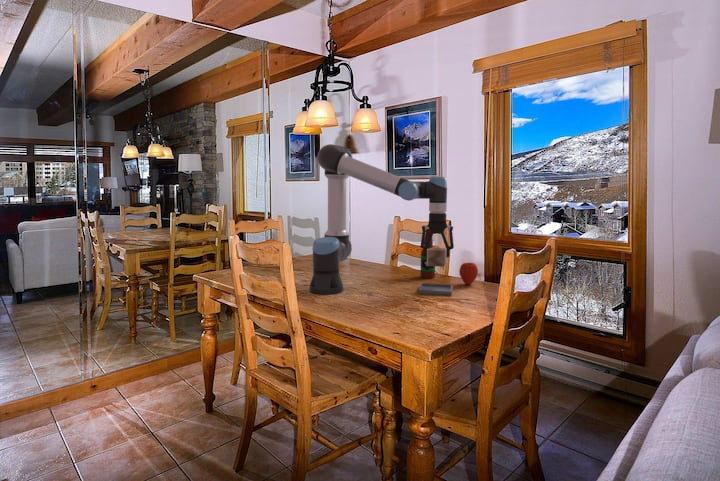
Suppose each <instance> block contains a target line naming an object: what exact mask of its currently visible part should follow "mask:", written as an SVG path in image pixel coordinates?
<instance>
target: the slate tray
mask: <svg viewBox="0 0 720 481" xmlns="http://www.w3.org/2000/svg"><path fill="white" fill-rule="evenodd" d="M452 293H453V284H451V283H450V284H449V283H435V282H434V283H433V282H432V283H431V282H428V283H427V282H421V284H420V286H419V288H418V295H430V296H431V295H432V296H449V297H450V296H451V297H452V295H453V294H452Z"/></svg>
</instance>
